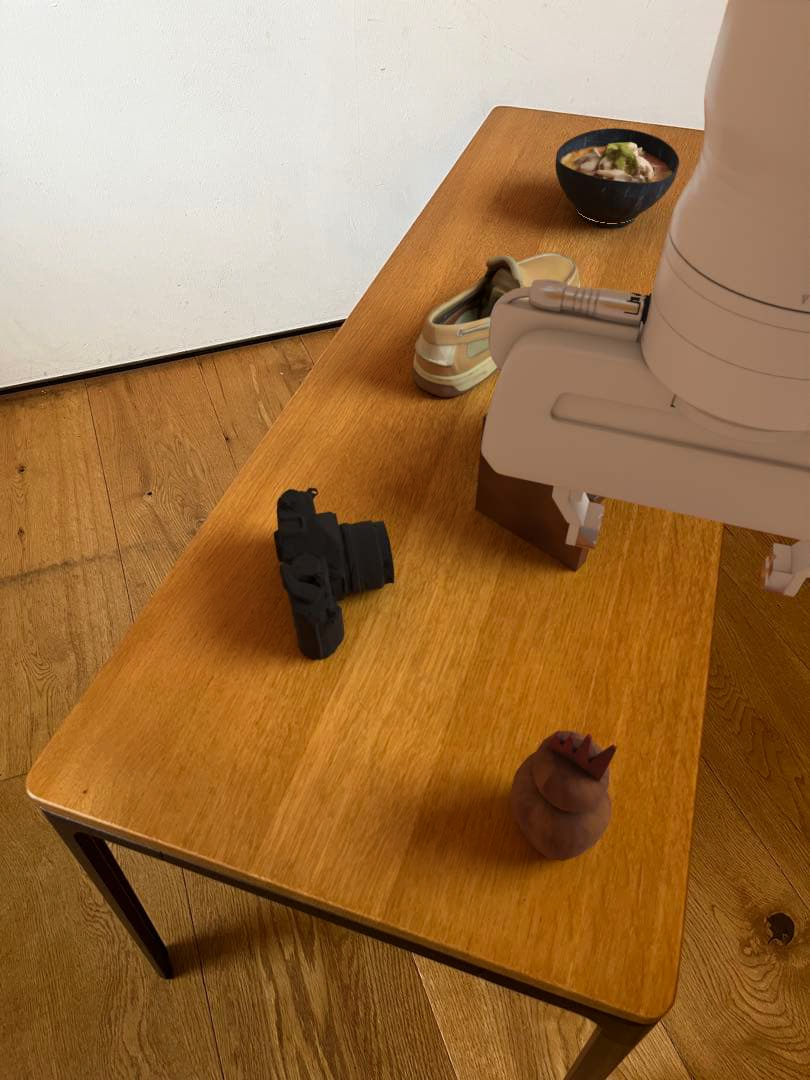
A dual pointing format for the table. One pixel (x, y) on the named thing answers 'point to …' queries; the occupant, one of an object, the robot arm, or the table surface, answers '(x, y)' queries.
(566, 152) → the bowl
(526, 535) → the display shelf
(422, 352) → the boat shoe
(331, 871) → the table surface
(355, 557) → the film camera
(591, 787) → the wooden figurine
